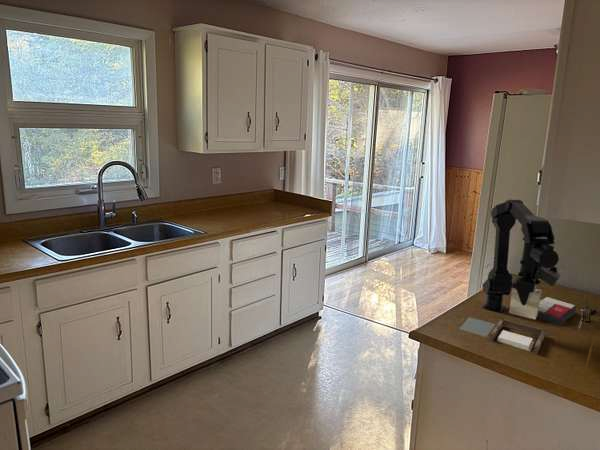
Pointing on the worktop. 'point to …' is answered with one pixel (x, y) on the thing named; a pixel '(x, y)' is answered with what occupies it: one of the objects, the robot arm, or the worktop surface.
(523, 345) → the offcut upper
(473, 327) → the mat
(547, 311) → the red white carton
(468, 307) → the worktop surface
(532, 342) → the offcut lower
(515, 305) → the cream rectangular block
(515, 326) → the rack
